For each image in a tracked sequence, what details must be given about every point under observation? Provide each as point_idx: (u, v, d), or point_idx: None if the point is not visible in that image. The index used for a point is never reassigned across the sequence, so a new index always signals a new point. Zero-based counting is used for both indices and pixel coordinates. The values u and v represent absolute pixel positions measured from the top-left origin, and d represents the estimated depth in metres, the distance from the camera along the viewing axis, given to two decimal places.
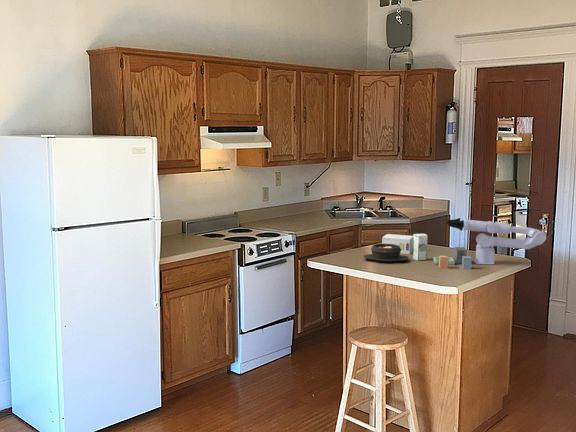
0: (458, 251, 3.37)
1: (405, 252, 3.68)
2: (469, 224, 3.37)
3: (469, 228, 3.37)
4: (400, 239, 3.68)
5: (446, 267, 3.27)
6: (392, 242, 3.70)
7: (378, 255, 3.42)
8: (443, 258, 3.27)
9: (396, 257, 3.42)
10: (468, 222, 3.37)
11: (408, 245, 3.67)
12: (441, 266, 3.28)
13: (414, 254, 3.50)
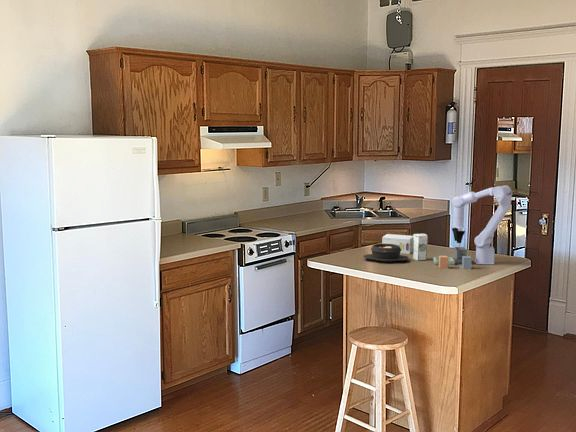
0: (458, 251, 3.37)
1: (405, 252, 3.68)
2: (458, 223, 3.46)
3: (462, 222, 3.46)
4: (400, 239, 3.68)
5: (446, 267, 3.27)
6: (392, 242, 3.70)
7: (378, 255, 3.42)
8: (443, 258, 3.27)
9: (396, 257, 3.42)
10: (456, 224, 3.47)
11: (408, 245, 3.67)
12: (441, 266, 3.28)
13: (414, 254, 3.50)
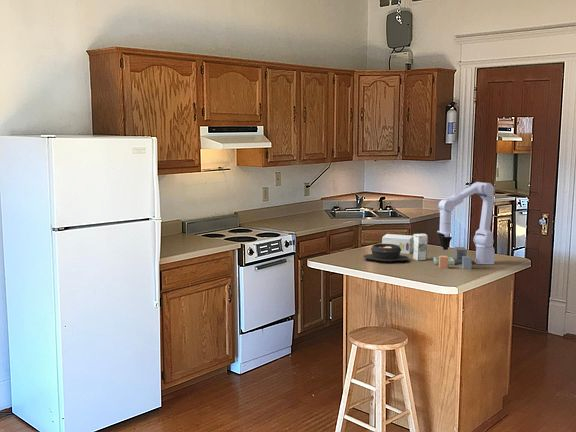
0: (458, 251, 3.37)
1: (405, 252, 3.68)
2: (444, 228, 3.25)
3: (448, 228, 3.26)
4: (400, 239, 3.68)
5: (446, 267, 3.27)
6: (392, 242, 3.70)
7: (378, 255, 3.42)
8: (443, 258, 3.27)
9: (396, 257, 3.42)
10: (442, 229, 3.26)
11: (408, 245, 3.67)
12: (441, 266, 3.28)
13: (414, 254, 3.50)
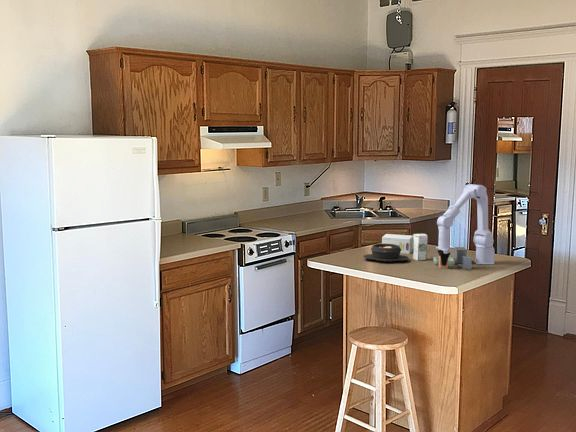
0: (458, 251, 3.37)
1: (405, 251, 3.68)
2: (443, 245, 3.25)
3: (447, 244, 3.25)
4: (400, 239, 3.69)
5: (446, 267, 3.27)
6: (392, 242, 3.70)
7: (378, 255, 3.42)
8: None
9: (396, 257, 3.42)
10: (441, 246, 3.26)
11: (408, 245, 3.67)
12: (441, 266, 3.28)
13: (414, 254, 3.50)
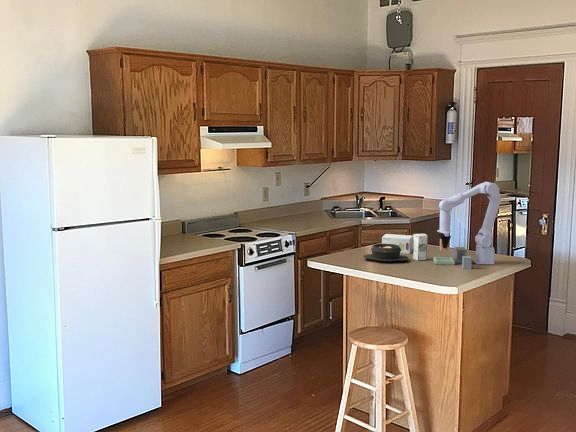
0: (458, 251, 3.37)
1: (405, 251, 3.69)
2: (444, 228, 3.35)
3: (448, 227, 3.35)
4: (400, 239, 3.69)
5: (447, 250, 3.37)
6: (392, 242, 3.71)
7: (378, 255, 3.42)
8: None
9: (396, 257, 3.42)
10: (442, 229, 3.35)
11: (408, 245, 3.68)
12: (442, 249, 3.37)
13: (414, 254, 3.50)
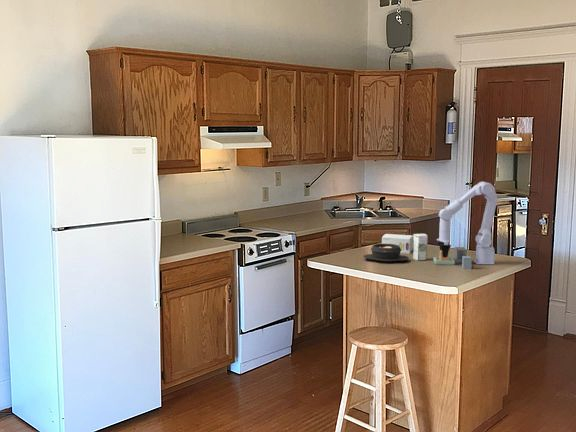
0: (458, 251, 3.37)
1: (405, 251, 3.69)
2: (444, 237, 3.37)
3: (448, 236, 3.37)
4: (400, 239, 3.69)
5: None
6: (392, 242, 3.71)
7: (378, 255, 3.42)
8: None
9: (396, 257, 3.42)
10: (442, 238, 3.37)
11: (408, 245, 3.68)
12: (441, 260, 3.39)
13: (414, 254, 3.50)
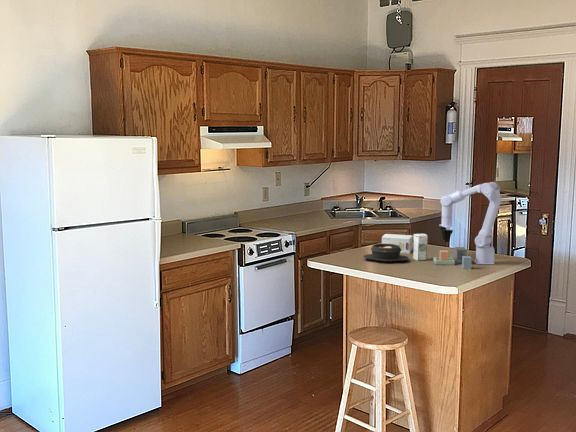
0: (458, 251, 3.37)
1: (405, 251, 3.69)
2: (446, 222, 3.49)
3: (450, 221, 3.50)
4: (400, 239, 3.69)
5: None
6: (392, 242, 3.71)
7: (378, 255, 3.42)
8: (443, 252, 3.39)
9: (396, 257, 3.42)
10: (444, 223, 3.50)
11: (408, 244, 3.68)
12: (441, 260, 3.39)
13: (414, 254, 3.50)
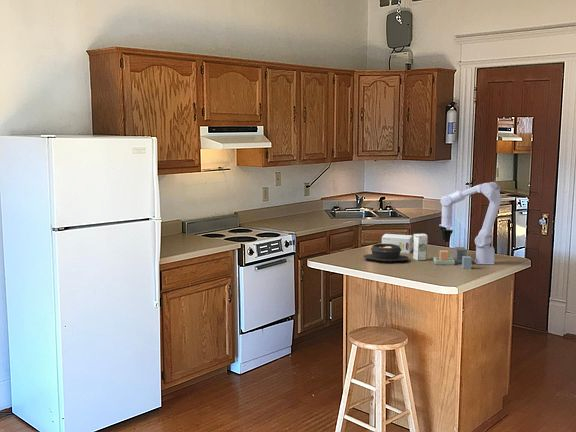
0: (458, 251, 3.37)
1: (405, 251, 3.69)
2: (446, 222, 3.49)
3: (450, 221, 3.50)
4: (400, 239, 3.69)
5: None
6: (392, 242, 3.71)
7: (378, 255, 3.42)
8: (443, 252, 3.39)
9: (396, 257, 3.42)
10: (444, 223, 3.50)
11: (408, 244, 3.68)
12: (441, 260, 3.39)
13: (414, 254, 3.50)
